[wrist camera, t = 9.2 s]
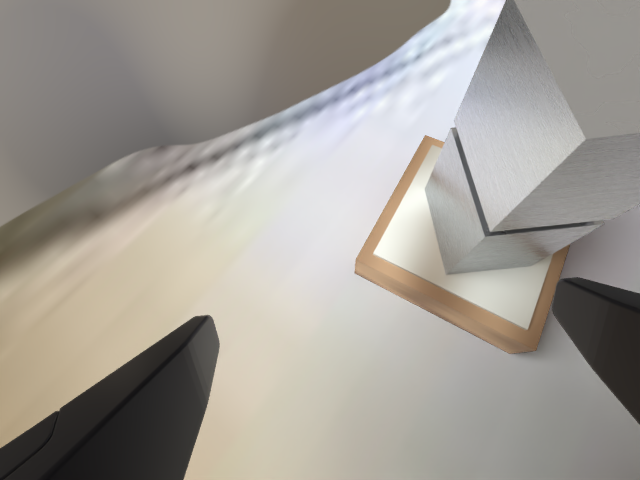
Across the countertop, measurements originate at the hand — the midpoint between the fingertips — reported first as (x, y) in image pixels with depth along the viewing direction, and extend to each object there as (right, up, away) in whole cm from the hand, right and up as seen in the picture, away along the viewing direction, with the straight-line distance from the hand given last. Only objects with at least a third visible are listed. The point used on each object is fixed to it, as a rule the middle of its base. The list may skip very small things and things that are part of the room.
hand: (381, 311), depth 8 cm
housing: (+8, +3, +12) cm, 15 cm away
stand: (+8, +2, +15) cm, 17 cm away
